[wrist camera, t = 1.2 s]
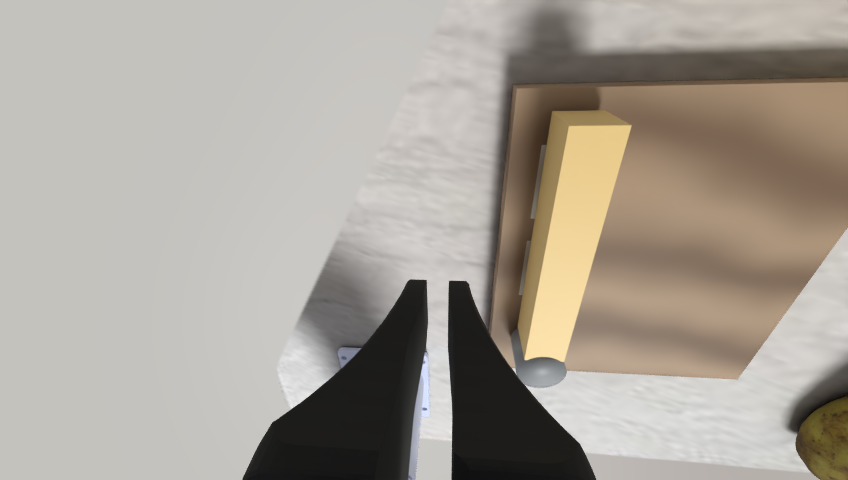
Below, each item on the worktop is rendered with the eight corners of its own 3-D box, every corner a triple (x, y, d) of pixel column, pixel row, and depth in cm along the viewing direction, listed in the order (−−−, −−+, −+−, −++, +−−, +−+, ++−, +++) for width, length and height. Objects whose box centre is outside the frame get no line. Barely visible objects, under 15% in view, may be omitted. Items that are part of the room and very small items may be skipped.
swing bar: (551, 353, 26) (561, 389, 23) (508, 351, 26) (514, 386, 24) (612, 110, 16) (640, 125, 14) (544, 111, 17) (560, 126, 14)
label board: (724, 363, 27) (738, 380, 26) (486, 351, 29) (487, 367, 28) (915, 75, 16) (957, 80, 15) (512, 84, 18) (517, 88, 17)
